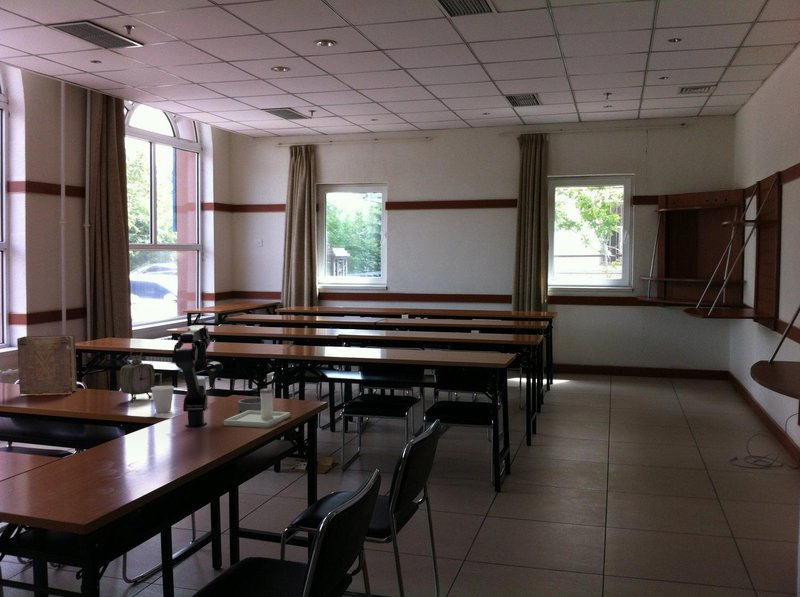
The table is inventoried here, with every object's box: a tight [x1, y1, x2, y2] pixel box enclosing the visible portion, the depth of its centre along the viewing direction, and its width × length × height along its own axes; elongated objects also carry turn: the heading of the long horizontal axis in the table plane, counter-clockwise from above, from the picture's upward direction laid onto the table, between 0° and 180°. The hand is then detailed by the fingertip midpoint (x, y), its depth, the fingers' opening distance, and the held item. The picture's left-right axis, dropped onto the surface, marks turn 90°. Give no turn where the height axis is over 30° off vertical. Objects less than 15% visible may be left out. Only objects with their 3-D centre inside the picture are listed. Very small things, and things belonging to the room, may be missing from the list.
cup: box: [151, 385, 175, 414], centre depth 313 cm, size 10×10×11 cm
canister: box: [259, 388, 274, 419], centre depth 293 cm, size 5×5×12 cm
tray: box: [223, 410, 291, 429], centre depth 292 cm, size 20×20×2 cm
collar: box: [238, 397, 261, 413], centre depth 316 cm, size 14×14×4 cm
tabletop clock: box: [119, 348, 156, 403], centre depth 342 cm, size 14×9×25 cm, turn 150°
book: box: [16, 334, 78, 395], centre depth 363 cm, size 25×9×30 cm, turn 100°
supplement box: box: [197, 376, 207, 394], centre depth 329 cm, size 7×7×13 cm
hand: (201, 389), depth 298 cm, fingers open, 9 cm apart
